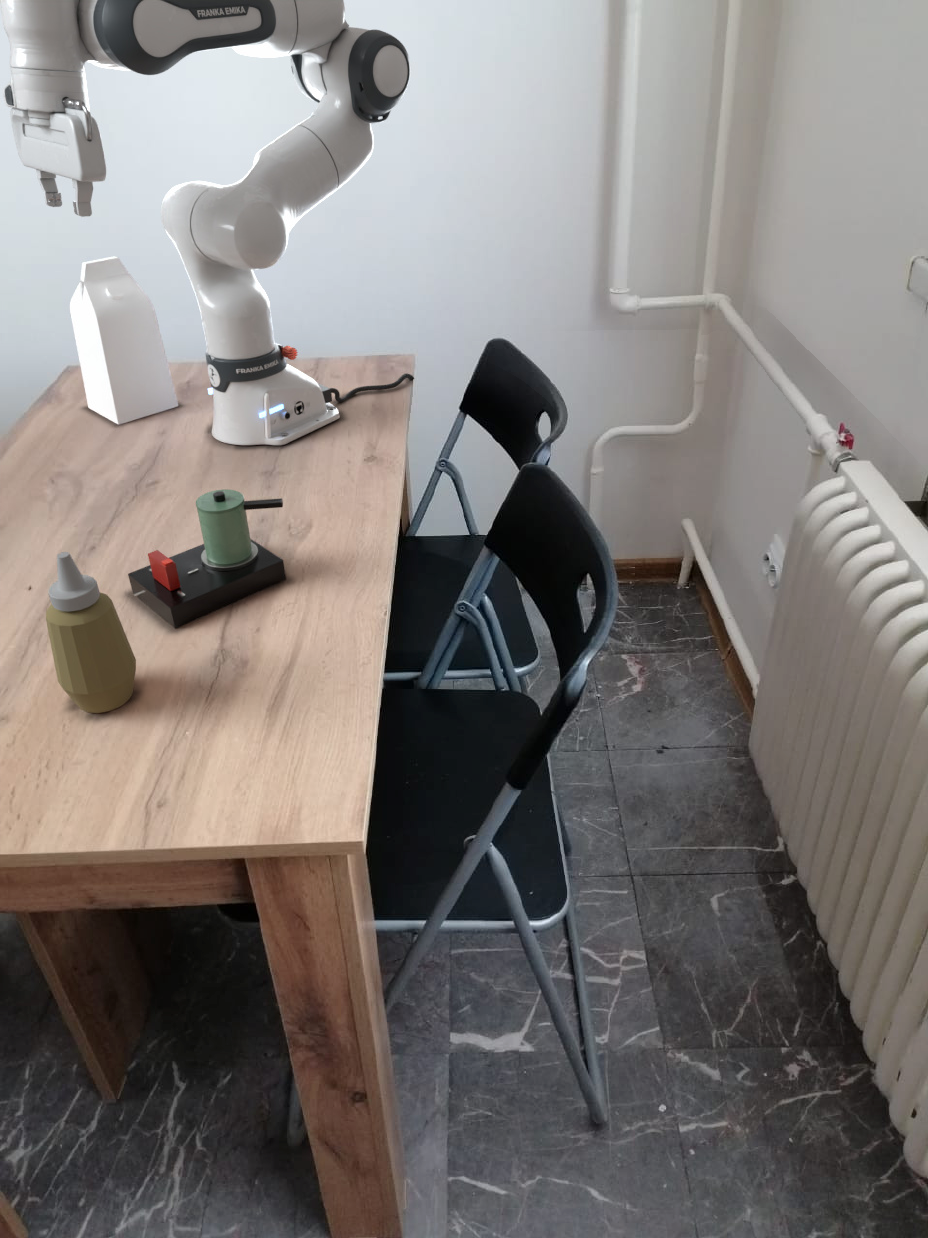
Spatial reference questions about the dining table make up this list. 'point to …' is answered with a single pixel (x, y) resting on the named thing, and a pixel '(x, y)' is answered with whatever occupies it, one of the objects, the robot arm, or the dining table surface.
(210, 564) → the burner
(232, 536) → the saucepan
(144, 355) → the milk
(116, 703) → the squeeze bottle
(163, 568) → the knob
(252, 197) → the robot arm
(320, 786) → the dining table surface
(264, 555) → the hob
